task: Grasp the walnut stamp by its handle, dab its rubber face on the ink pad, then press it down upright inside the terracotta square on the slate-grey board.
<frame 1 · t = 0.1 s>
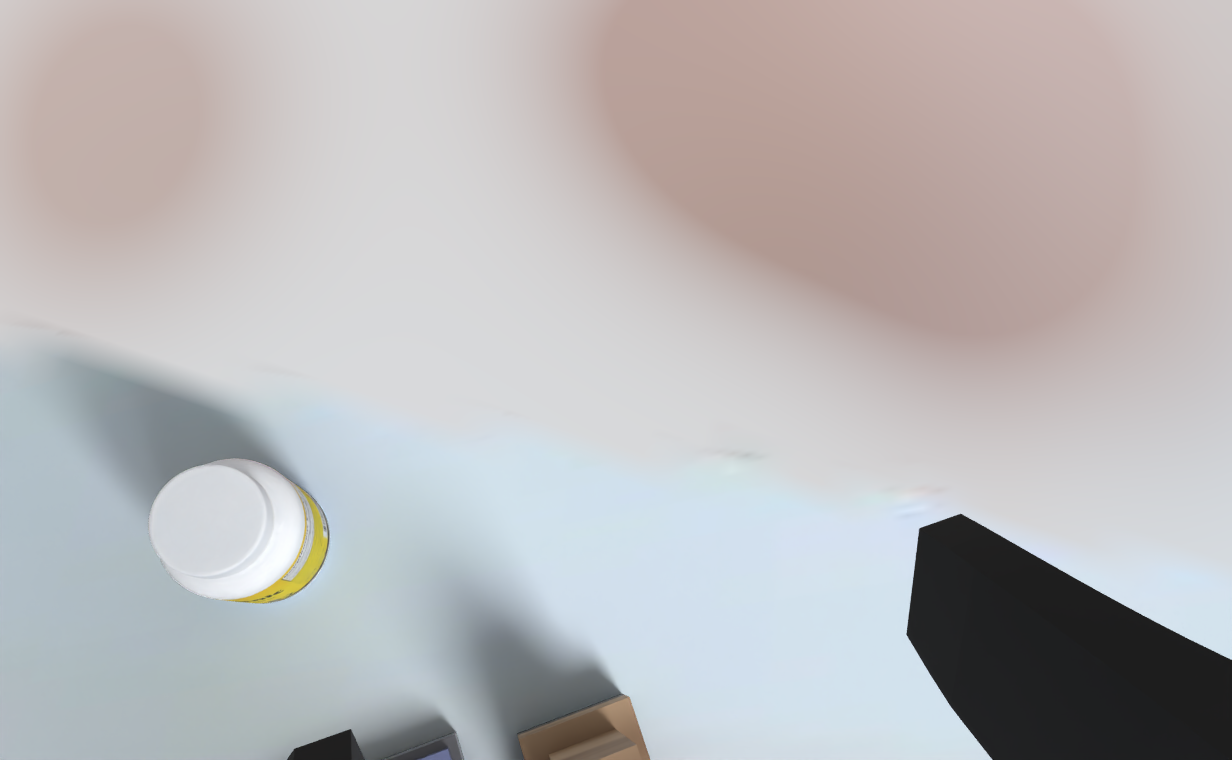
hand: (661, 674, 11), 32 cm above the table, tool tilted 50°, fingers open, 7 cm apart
supplement bottle: (272, 544, 42), on the table
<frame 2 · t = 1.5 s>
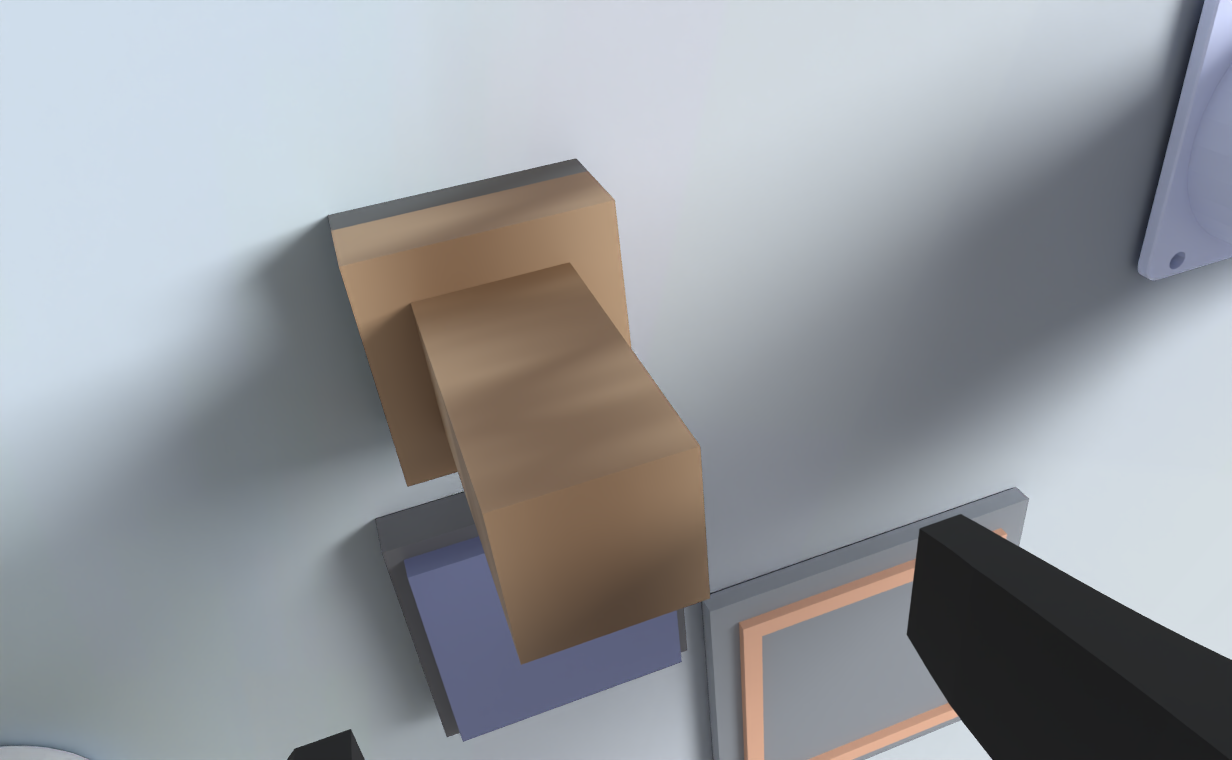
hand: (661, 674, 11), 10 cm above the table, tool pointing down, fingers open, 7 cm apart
stamp: (479, 295, 19), on the table
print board: (856, 654, 31), on the table
ink pad: (540, 575, 24), on the table
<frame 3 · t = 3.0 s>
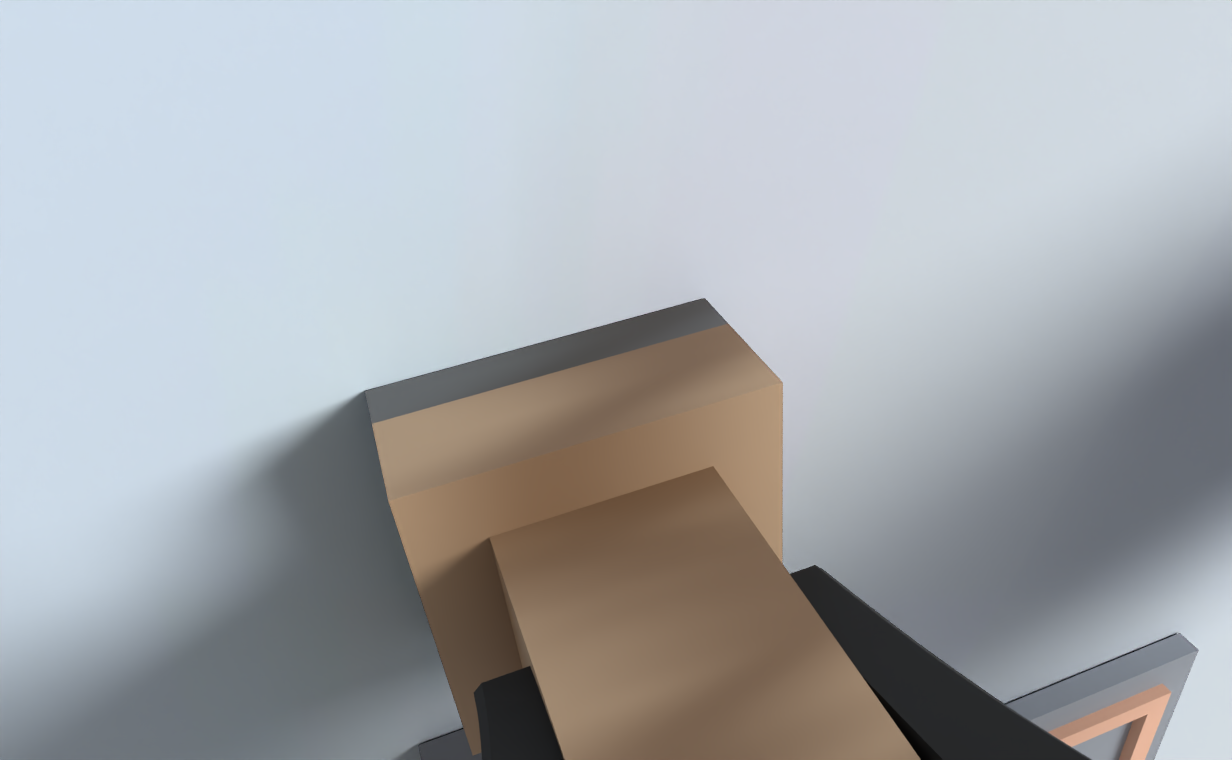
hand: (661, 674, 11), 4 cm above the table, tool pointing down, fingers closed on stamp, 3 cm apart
stamp: (565, 476, 14), on the table, touching gripper
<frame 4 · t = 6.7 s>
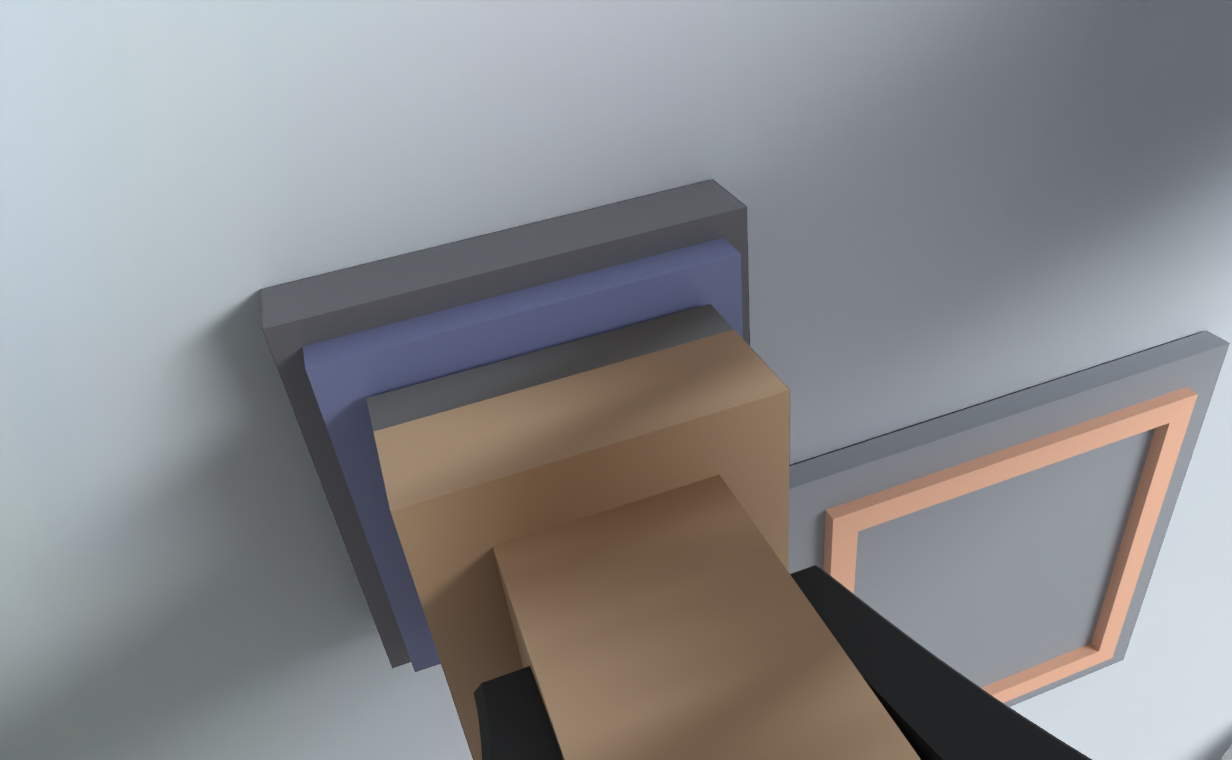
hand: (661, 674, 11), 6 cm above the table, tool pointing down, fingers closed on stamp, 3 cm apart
stamp: (569, 483, 14), point 2 cm above the table, touching gripper
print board: (971, 574, 23), on the table
ink pad: (535, 416, 16), on the table
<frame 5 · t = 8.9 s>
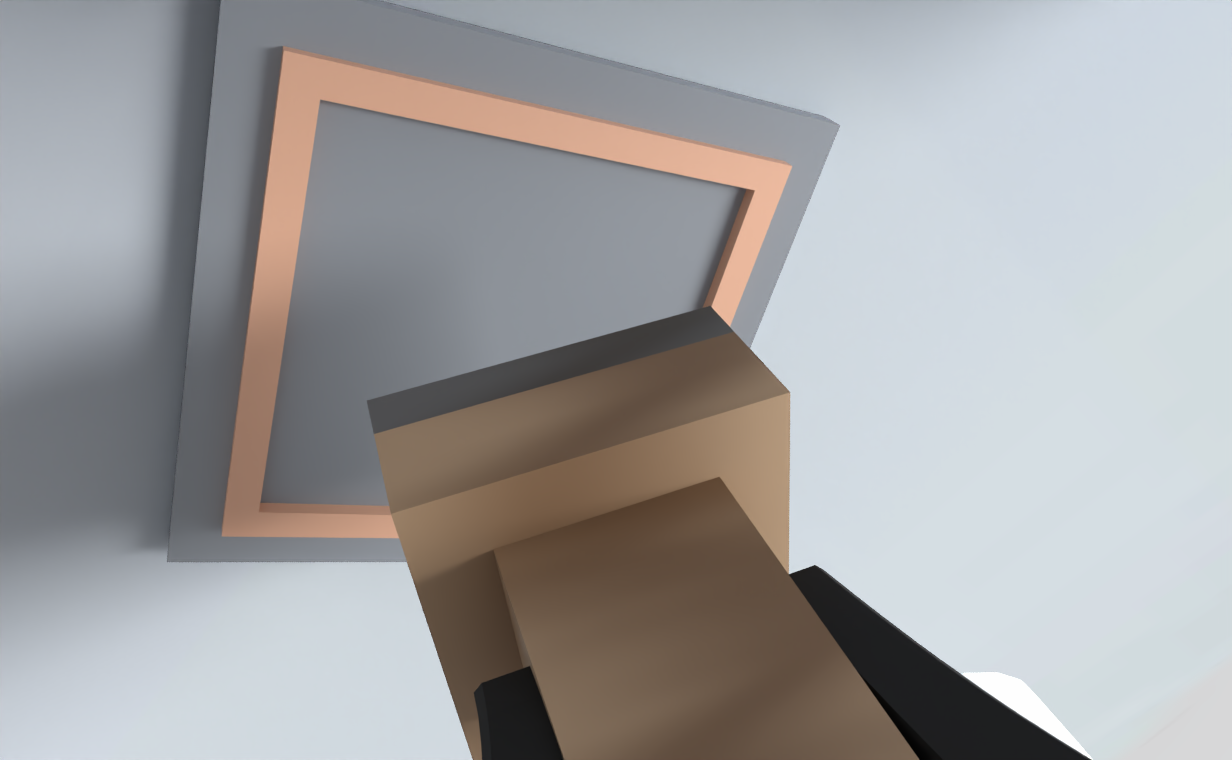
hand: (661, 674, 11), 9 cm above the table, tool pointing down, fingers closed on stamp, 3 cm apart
stamp: (569, 485, 14), point 5 cm above the table, touching gripper
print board: (496, 329, 18), on the table
when the fingers open (5 cm above the table, at t = 10.7 s): stamp stays where it is, resting on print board.
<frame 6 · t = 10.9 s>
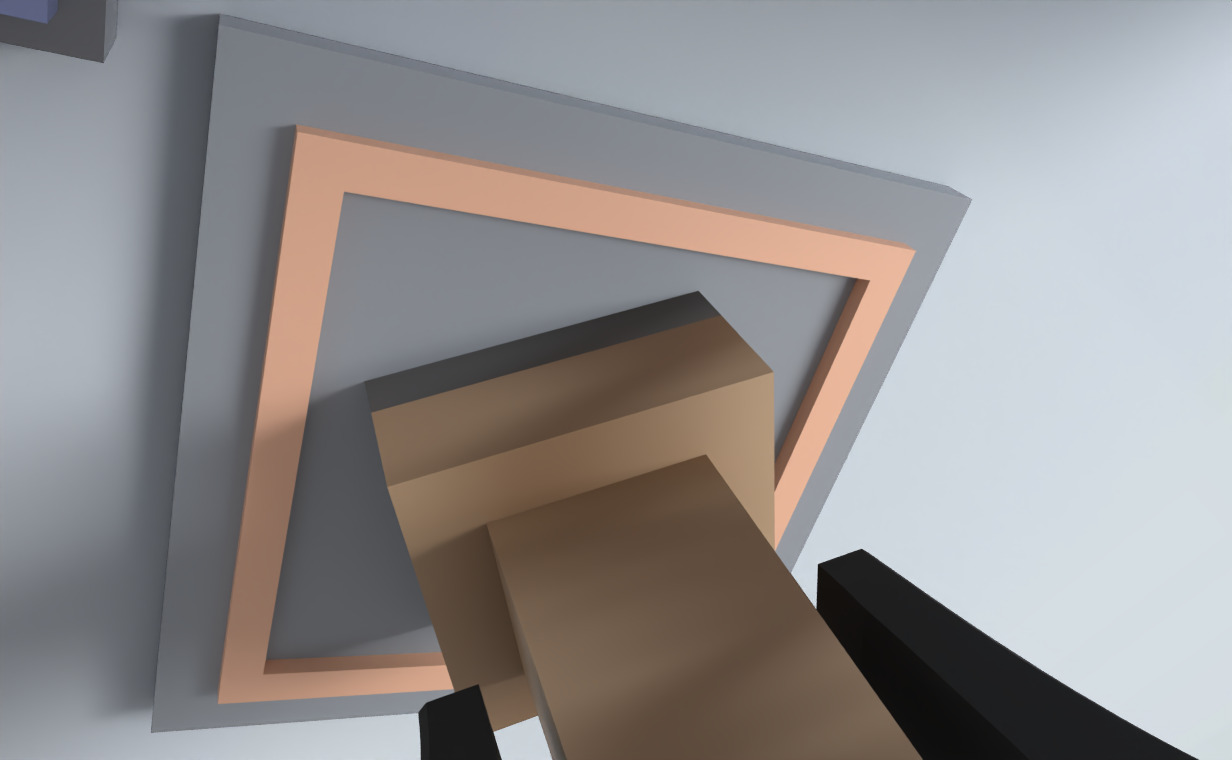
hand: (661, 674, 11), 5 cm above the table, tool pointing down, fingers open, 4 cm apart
stamp: (562, 466, 14), point 1 cm above the table, touching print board
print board: (550, 444, 15), on the table
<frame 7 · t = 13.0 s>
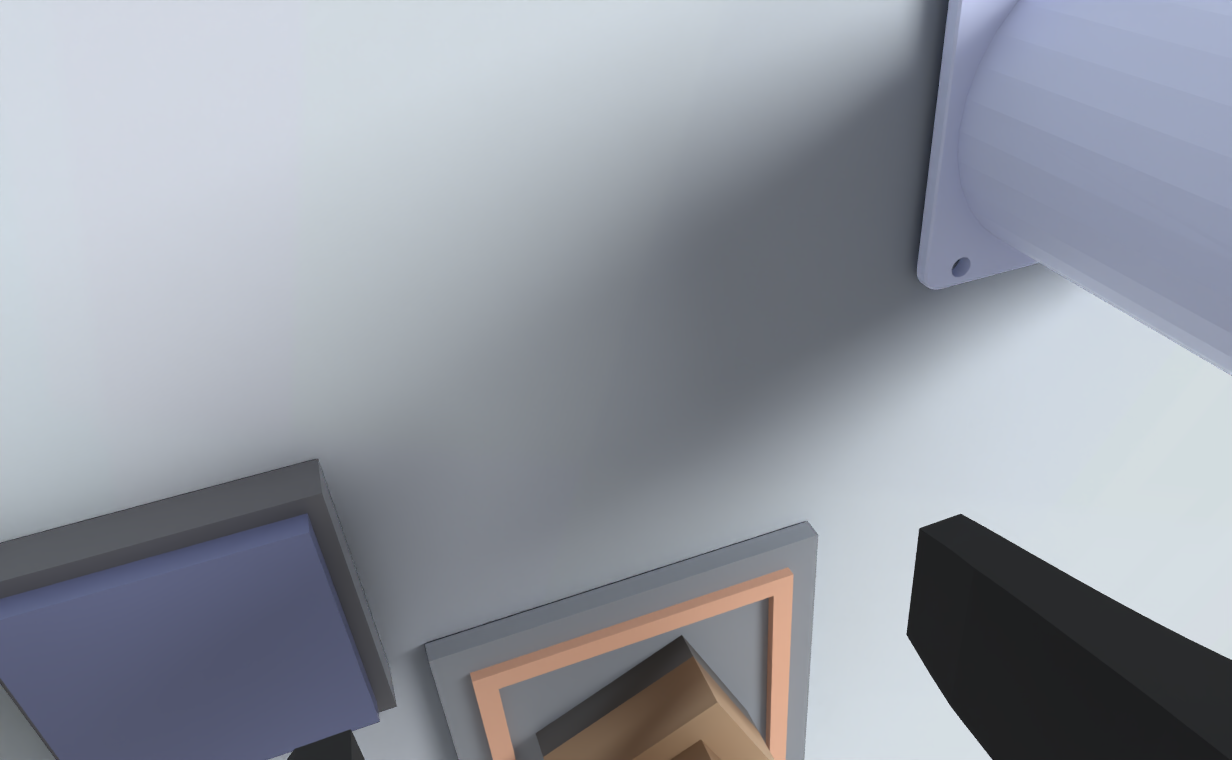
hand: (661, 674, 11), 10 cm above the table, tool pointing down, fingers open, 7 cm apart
stamp: (647, 721, 27), point 1 cm above the table, touching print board
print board: (639, 705, 28), on the table
ink pad: (201, 620, 21), on the table
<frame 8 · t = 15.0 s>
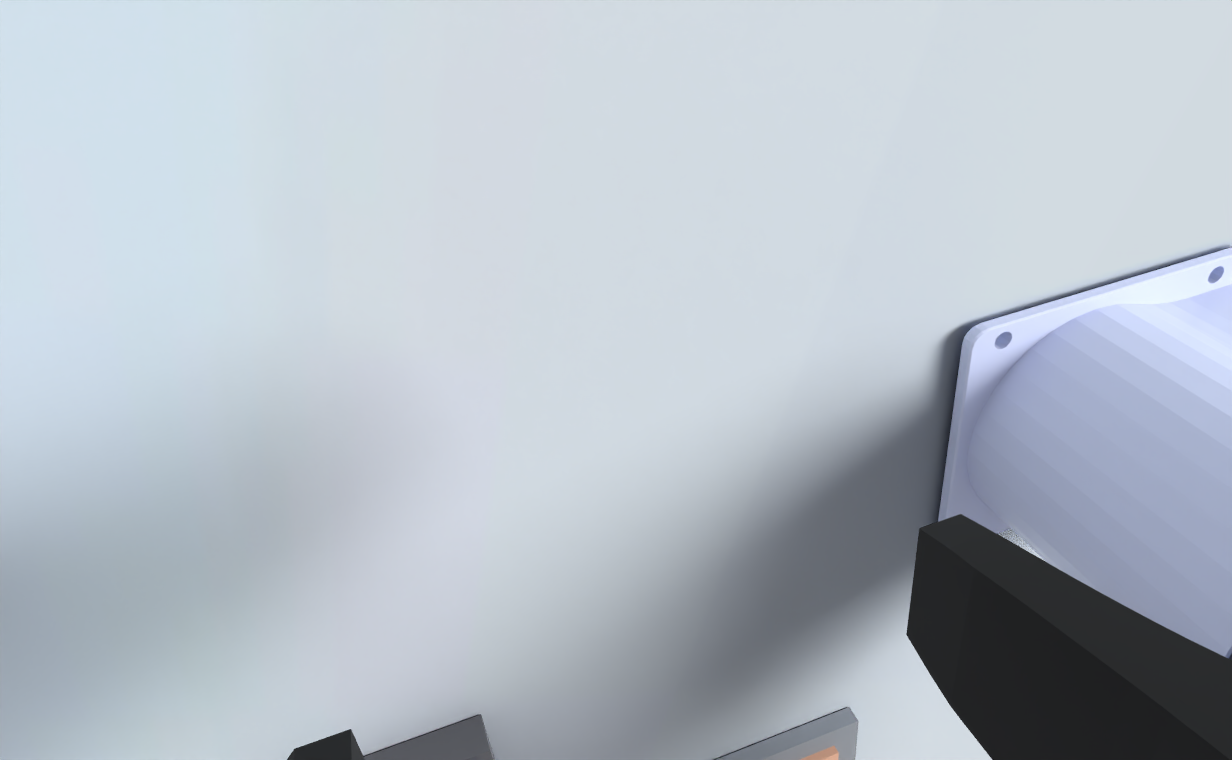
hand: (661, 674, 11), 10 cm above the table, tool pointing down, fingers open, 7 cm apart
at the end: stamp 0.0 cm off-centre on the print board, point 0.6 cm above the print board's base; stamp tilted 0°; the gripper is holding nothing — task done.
